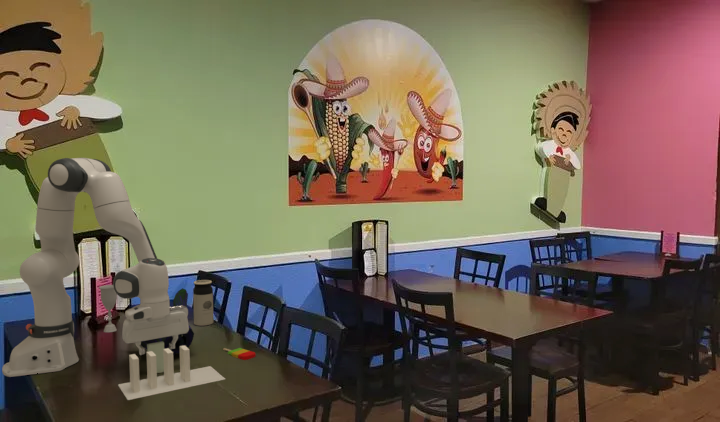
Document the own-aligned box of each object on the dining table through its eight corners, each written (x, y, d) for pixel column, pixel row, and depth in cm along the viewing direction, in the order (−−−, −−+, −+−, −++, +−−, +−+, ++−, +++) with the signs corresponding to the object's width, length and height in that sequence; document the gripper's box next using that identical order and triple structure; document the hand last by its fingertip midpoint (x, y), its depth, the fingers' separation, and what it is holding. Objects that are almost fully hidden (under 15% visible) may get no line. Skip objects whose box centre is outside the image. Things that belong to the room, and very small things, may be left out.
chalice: (123, 329, 236) (121, 286, 235) (108, 334, 230) (106, 289, 229) (112, 327, 240) (110, 284, 238) (97, 331, 234) (95, 287, 233)
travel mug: (192, 322, 247) (190, 280, 245) (210, 320, 251) (209, 279, 249) (196, 327, 240) (195, 284, 238) (215, 324, 244) (214, 282, 242)
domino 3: (151, 389, 173) (150, 356, 172) (147, 383, 177) (146, 351, 176) (157, 387, 174) (156, 355, 173) (152, 382, 178) (151, 351, 177)
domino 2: (164, 372, 188) (164, 342, 187) (149, 376, 185) (148, 345, 184) (163, 371, 189) (162, 341, 188) (147, 374, 186) (146, 344, 185)
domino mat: (127, 401, 165) (127, 400, 165) (117, 385, 177) (117, 384, 177) (225, 380, 181) (225, 379, 181) (210, 367, 193) (210, 366, 193)
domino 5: (185, 382, 179) (184, 350, 178) (180, 377, 183) (179, 346, 182) (190, 381, 179) (189, 349, 179) (185, 376, 184) (184, 345, 183)
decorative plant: (152, 388, 199) (131, 343, 222) (221, 349, 209) (194, 310, 232) (128, 344, 188) (109, 302, 212) (201, 305, 198) (175, 269, 222)
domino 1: (134, 392, 170) (133, 359, 169) (130, 387, 174) (129, 354, 174) (139, 391, 171) (138, 358, 170) (135, 386, 175) (134, 353, 175)
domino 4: (168, 385, 176) (167, 353, 175) (164, 380, 180) (163, 349, 179) (174, 384, 177) (173, 352, 176) (169, 379, 181) (168, 348, 180)
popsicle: (245, 361, 199) (244, 356, 199) (217, 353, 209) (217, 348, 209) (257, 357, 204) (257, 352, 204) (229, 349, 213) (229, 344, 213)
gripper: (184, 302, 194) (186, 342, 195) (119, 312, 182) (122, 355, 183) (190, 306, 188) (192, 347, 190) (124, 316, 177) (126, 360, 178)
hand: (157, 351), depth 186 cm, fingers open, 8 cm apart
